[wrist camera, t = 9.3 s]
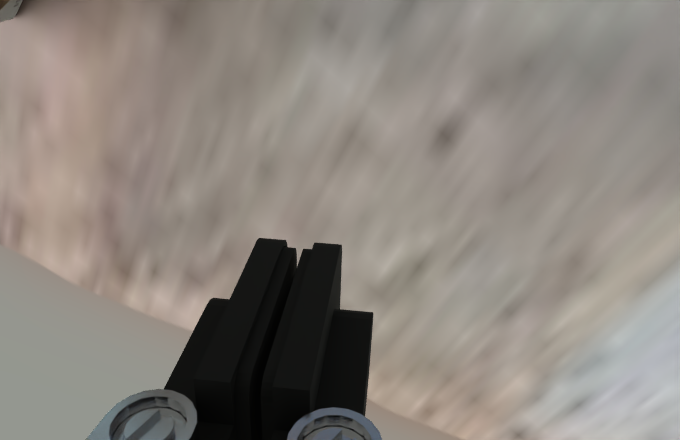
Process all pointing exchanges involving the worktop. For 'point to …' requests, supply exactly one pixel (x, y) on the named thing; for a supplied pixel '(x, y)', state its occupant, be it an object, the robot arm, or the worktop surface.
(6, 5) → the coffee box
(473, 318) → the worktop surface
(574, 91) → the worktop surface
